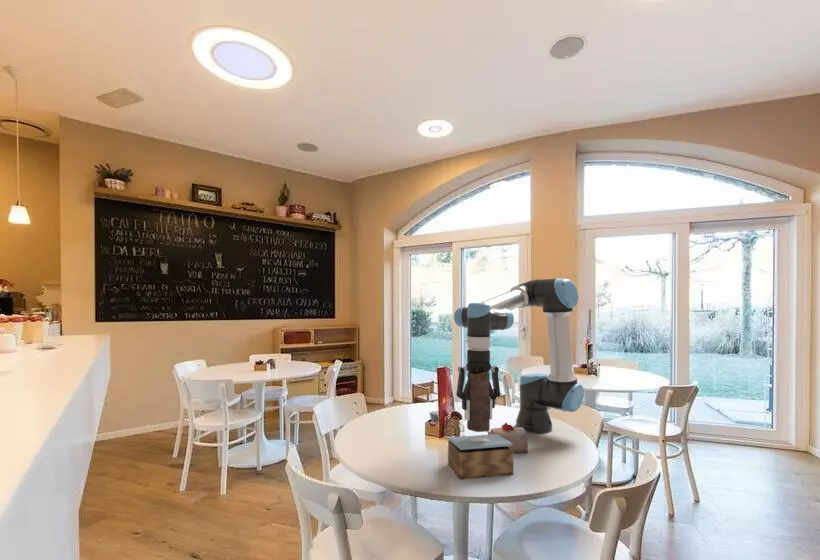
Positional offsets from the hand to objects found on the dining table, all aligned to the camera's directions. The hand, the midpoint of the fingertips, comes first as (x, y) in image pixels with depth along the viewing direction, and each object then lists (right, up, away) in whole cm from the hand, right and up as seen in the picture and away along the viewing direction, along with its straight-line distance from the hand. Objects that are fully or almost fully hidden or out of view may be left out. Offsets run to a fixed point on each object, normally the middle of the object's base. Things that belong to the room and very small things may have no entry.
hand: (478, 418), depth 136 cm
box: (0, -17, 0) cm, 17 cm away
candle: (0, -4, 0) cm, 4 cm away
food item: (+14, -18, +16) cm, 27 cm away
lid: (0, -8, 0) cm, 8 cm away
